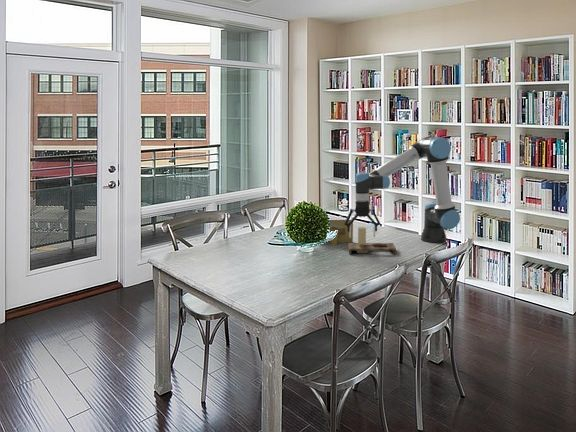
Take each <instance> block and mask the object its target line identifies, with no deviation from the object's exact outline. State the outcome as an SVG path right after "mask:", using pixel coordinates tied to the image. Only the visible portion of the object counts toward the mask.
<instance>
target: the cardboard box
mask: <svg viewBox="0 0 576 432" xmlns="http://www.w3.org/2000/svg"><path fill="white" fill-rule="evenodd" d="M329 220H330V232H331V231H335V230H338V233H337V235H336V237H335V238H334V239H333V240H331V241H330V242H329V243H331V246H335V245H338V244H337V243H354V242H353V241H354V222H353V223H352V224H351V225H350V226H351V238H350V237H349V232H348V230H347V226H346V225H344V223H345V221H346V219H329ZM350 221H351V219H349V221H348V223H349V222H350Z"/></svg>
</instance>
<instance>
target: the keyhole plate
mask: <svg viewBox="0 0 576 432" xmlns="http://www.w3.org/2000/svg"><path fill="white" fill-rule="evenodd" d="M347 250H348V255H352V251H356V250H368V251H392V254H393V255H397V247H396V245H395V244H394V242H366V244H364V246H360V244H359V243H358V242H347Z"/></svg>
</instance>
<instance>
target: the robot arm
mask: <svg viewBox="0 0 576 432" xmlns="http://www.w3.org/2000/svg"><path fill="white" fill-rule="evenodd" d="M451 150H452V146H451V143H450V142H449V141H448V139H446V138H444V137H441V136H425V137H424V138H421V139H420V140H417V141H416V142H414V143H413V144H411V145H409V147H408V149H406V150H405V151H403V152H402V153H400V154H398V155H396V156H395V157H394V158H391V159H390V160H389V161H387V162H385V163H384V164H382V165H381V166H379V167H377V168H376V169H373V170H372V171H370V172H358V173H356V174H355V208H354V209H353V208H350V209H349V213H348V215H347V217H346V219H345V220H346V221H345V223H344V225H346V226H347V230H348V232H349V237H350V238H351V226H350V225H351V224H352V223H353V224H354V221H356V219H357V218H358V217H359V218H362V217H363V218H365V217H367V218H368V220H370V221H371V223H372V224H373V225H372V226H373V227H372V228H373V229H372V230H373V233H372V234H373V235H372V237H373V238H376V232H378V226H380V225H381V221H380V220H379V218H378V216H377V214H376V210H375V208H370V190H384V189H388V188H390V186H391V185H390V184H391V180H390V179H391V178H390V177H389V176H392V175H393V174H395V173H396V172H398V171H399V170H401V169H403V168H404V167H406V166H408V165H409V164H411V163H413V162H415V161H419V160H420V159H423V158H427V159H426V160H427V164H429V165H430V169H431V174H432V181H433V190H434V196H435V203H427V204H425V206H424V220H423V221H424V223H423V224H424V226H423V230H422V233H421V236H420V240H421V241H423V242H426V243H445V242H446V241H447V234H446V231H445V229H446V230H451V229H455V228H456V227H457V226H458V225H459V223H460V220H461V214H460V213H459V211H457V209H456V204H455V203H454V202H452V196H451V188H450V181H449V173H448V166H447V162H448V160H449V155H450V153H451ZM354 212H355V214H354V216H353V217H352V215H353V213H354ZM370 212H371V213H372V215H373V217H374V218H375V220H376V221H375V220H374V219H373V218H372V216H371V215H370V214H369V213H370ZM351 217H352V218H351ZM349 220H351V221H350V222H349V223H348V221H349Z"/></svg>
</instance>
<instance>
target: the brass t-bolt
mask: <svg viewBox="0 0 576 432" xmlns="http://www.w3.org/2000/svg"><path fill="white" fill-rule="evenodd" d="M357 230H358V231H357V232H358V233H357V234H358V235H357V236H358V237H357V238H358V239H357V243H359V244H360V246H364V244H366V243H367V228H366V227H365V226H359V227H357ZM355 251H356V254H368V252H369V250H355Z"/></svg>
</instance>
